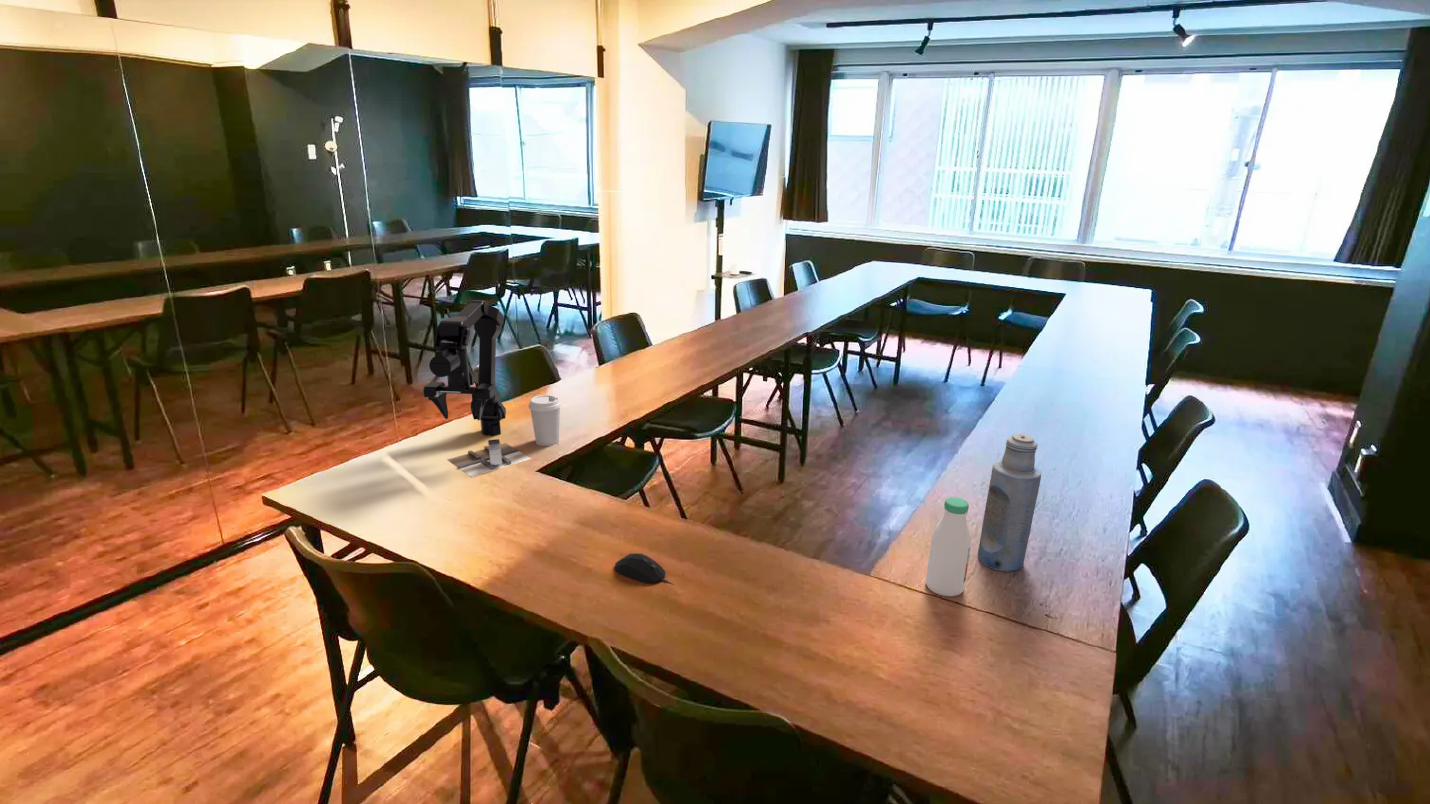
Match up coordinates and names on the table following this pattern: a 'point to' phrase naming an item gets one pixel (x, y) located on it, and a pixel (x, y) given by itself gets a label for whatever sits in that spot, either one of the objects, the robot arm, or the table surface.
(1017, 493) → the bottle
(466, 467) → the ribbed grey tray
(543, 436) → the coffee cup
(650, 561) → the gaming mouse
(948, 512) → the milk bottle
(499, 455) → the white rectangular block
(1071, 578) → the table surface
